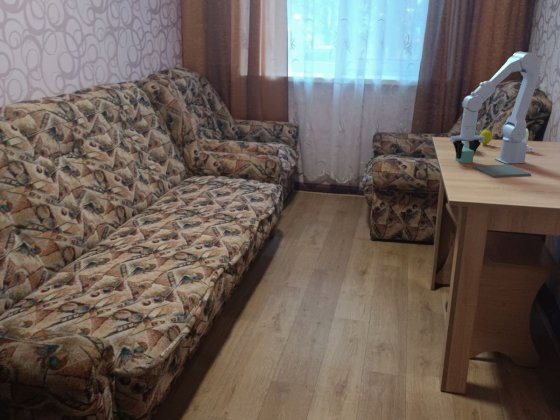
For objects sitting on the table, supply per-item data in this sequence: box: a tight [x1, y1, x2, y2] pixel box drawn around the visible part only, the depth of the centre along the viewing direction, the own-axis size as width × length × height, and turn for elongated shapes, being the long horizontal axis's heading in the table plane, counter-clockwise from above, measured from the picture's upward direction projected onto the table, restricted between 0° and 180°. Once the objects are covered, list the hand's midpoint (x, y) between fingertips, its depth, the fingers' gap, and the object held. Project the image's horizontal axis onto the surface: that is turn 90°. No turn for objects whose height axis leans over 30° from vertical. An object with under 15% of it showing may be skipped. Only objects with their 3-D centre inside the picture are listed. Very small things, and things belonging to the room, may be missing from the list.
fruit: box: [479, 128, 493, 146], centre depth 253 cm, size 6×6×8 cm
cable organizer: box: [523, 128, 533, 153], centre depth 244 cm, size 5×10×10 cm, turn 90°
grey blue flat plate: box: [472, 163, 532, 178], centre depth 209 cm, size 16×14×1 cm
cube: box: [455, 148, 475, 164], centre depth 223 cm, size 5×5×5 cm
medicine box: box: [462, 132, 477, 149], centre depth 242 cm, size 8×4×9 cm, turn 168°
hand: (464, 158), depth 223 cm, fingers closed on cube, 5 cm apart
